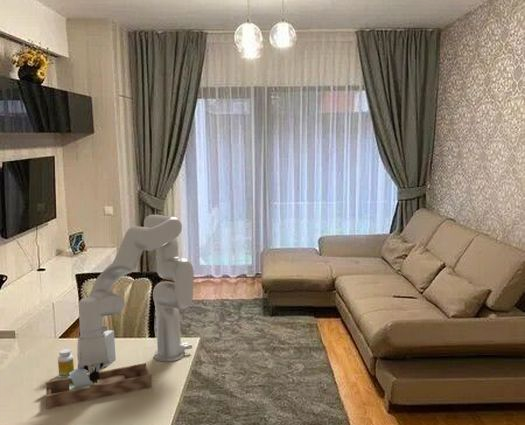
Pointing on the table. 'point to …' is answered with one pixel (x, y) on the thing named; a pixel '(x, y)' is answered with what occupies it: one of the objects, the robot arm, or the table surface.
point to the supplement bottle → (65, 363)
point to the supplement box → (110, 347)
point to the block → (80, 378)
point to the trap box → (98, 386)
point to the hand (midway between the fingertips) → (94, 381)
